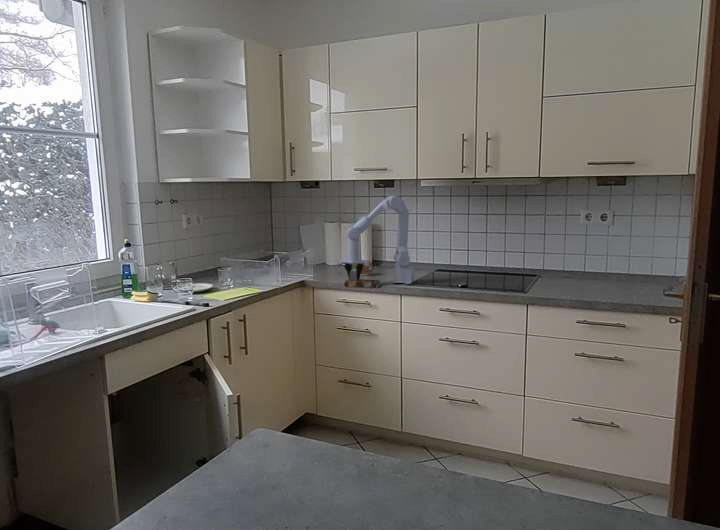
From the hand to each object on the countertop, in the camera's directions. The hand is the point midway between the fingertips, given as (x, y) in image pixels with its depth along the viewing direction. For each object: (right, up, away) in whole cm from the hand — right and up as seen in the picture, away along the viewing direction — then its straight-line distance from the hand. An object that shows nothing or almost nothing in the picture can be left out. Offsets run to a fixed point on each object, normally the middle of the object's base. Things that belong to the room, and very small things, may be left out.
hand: (354, 278), depth 258 cm
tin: (+3, +1, +27) cm, 27 cm away
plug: (0, -3, +1) cm, 3 cm away
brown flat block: (+4, -3, -1) cm, 5 cm away
